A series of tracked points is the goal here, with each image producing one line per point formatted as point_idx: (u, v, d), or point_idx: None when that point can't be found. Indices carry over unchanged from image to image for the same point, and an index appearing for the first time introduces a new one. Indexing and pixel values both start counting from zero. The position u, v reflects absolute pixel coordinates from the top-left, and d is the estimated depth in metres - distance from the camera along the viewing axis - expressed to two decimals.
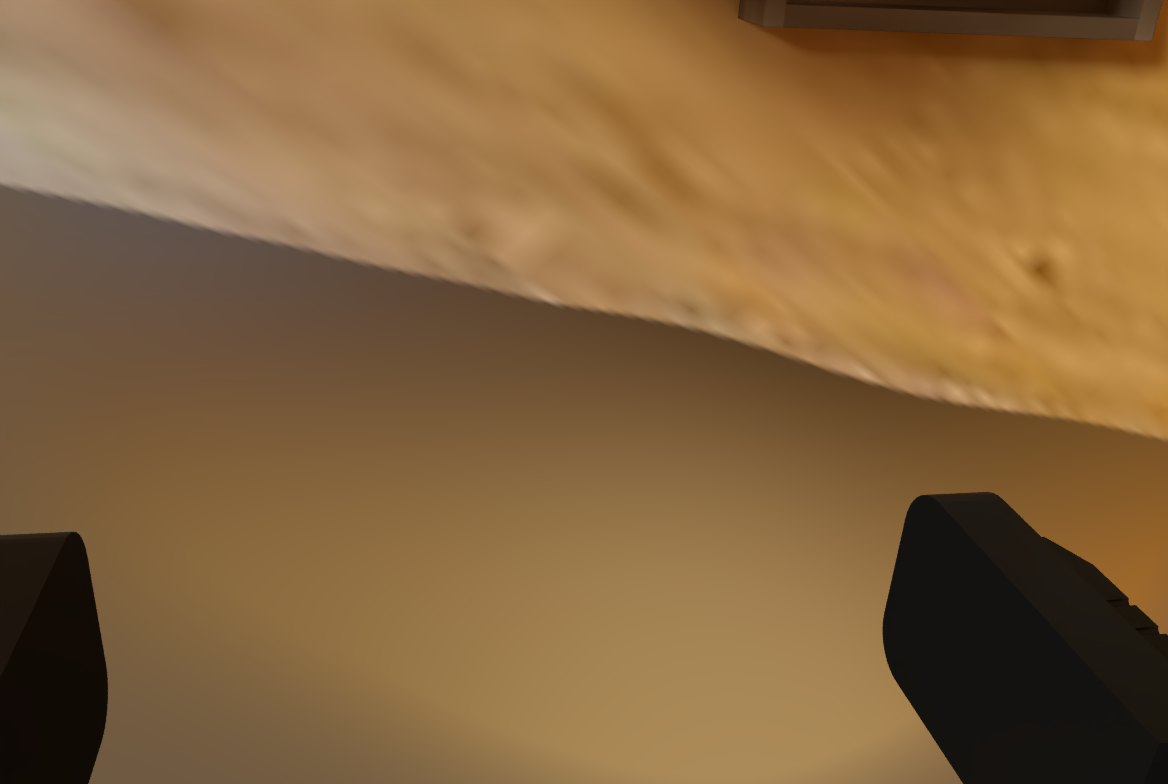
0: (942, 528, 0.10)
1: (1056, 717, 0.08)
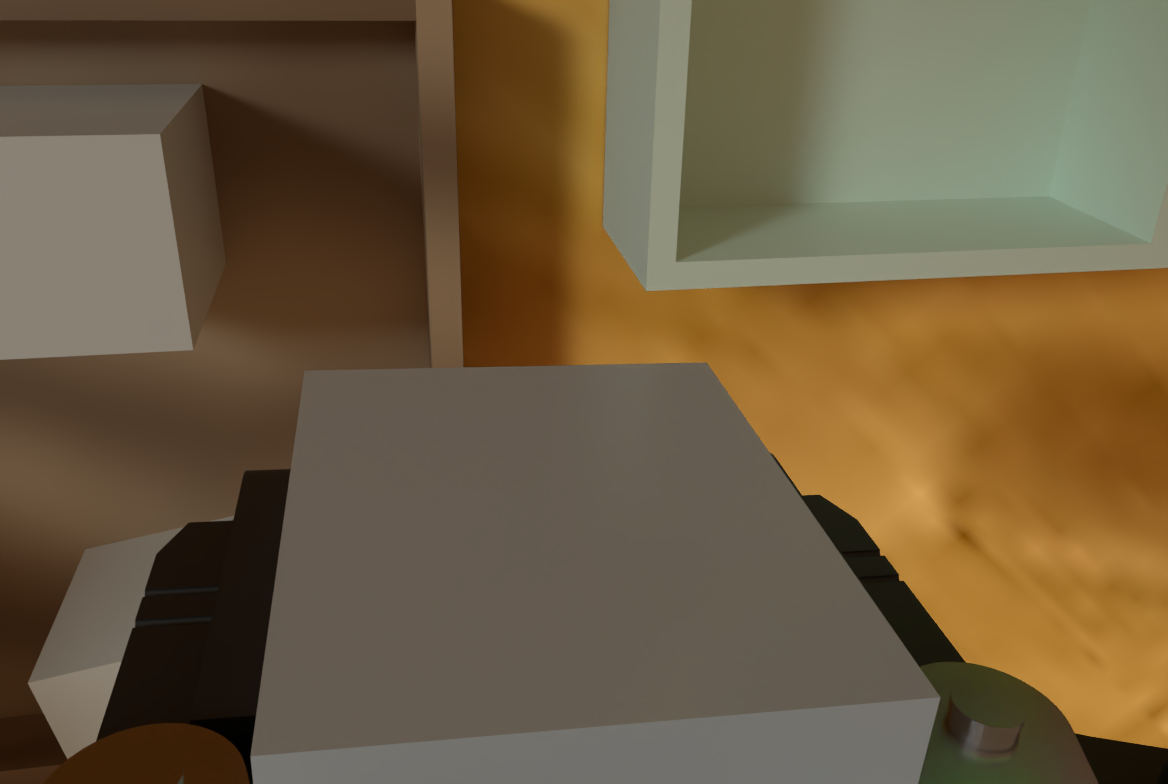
0: None
1: None
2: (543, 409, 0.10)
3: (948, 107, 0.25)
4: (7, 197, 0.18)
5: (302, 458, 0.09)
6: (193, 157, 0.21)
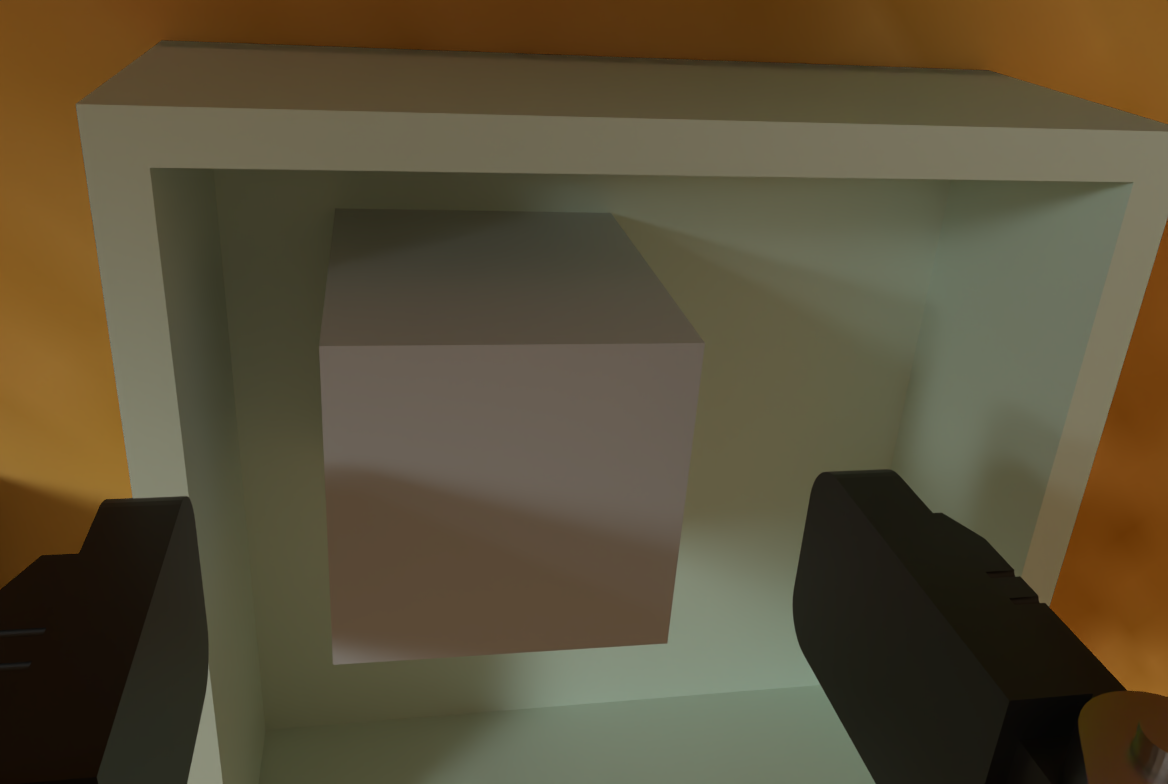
0: (840, 502, 0.10)
1: (930, 681, 0.09)
2: (494, 230, 0.14)
3: (700, 597, 0.19)
4: None
5: (337, 246, 0.13)
6: None
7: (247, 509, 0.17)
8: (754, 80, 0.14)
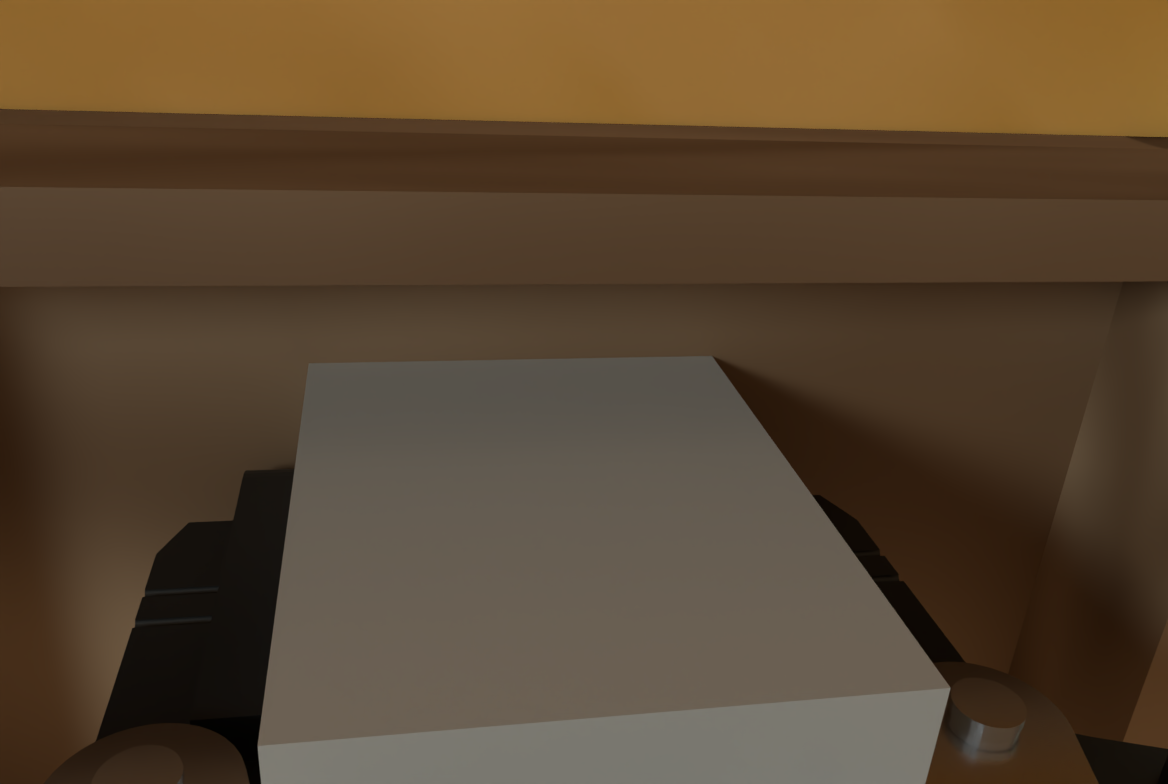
0: None
1: None
2: None
3: None
4: None
5: None
6: None
7: None
8: None
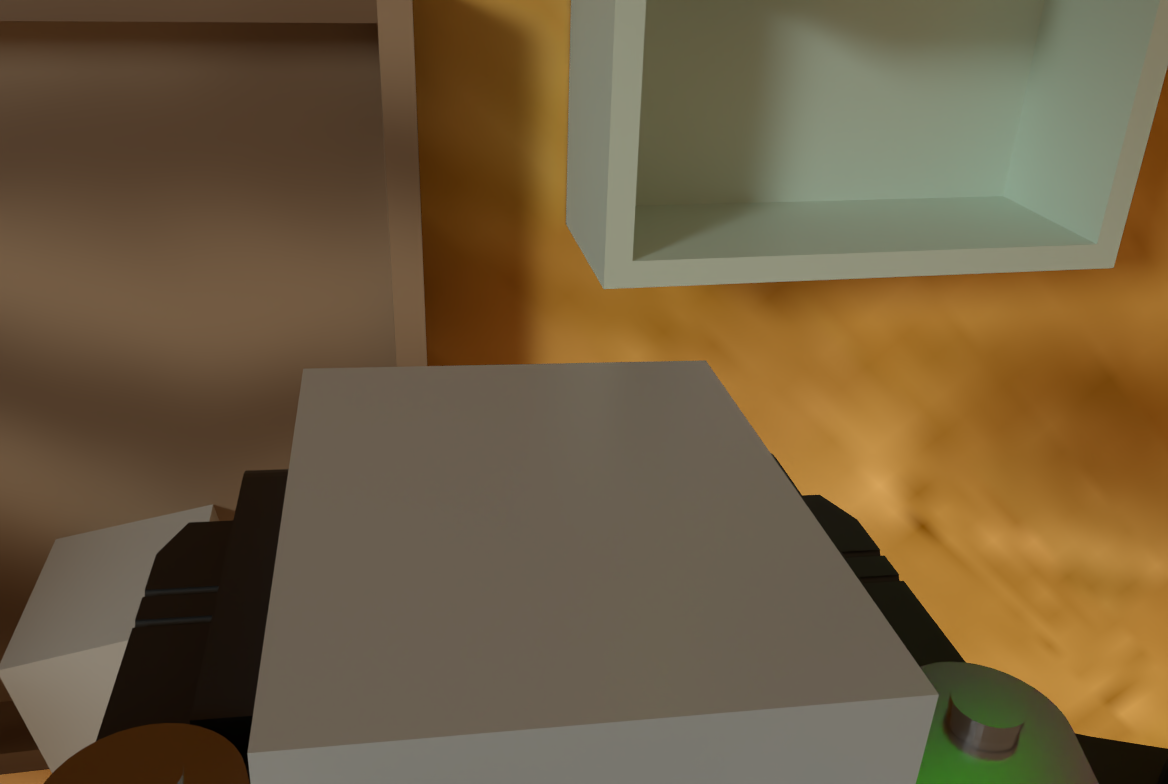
0: None
1: None
2: None
3: (904, 109, 0.26)
4: None
5: None
6: None
7: None
8: None
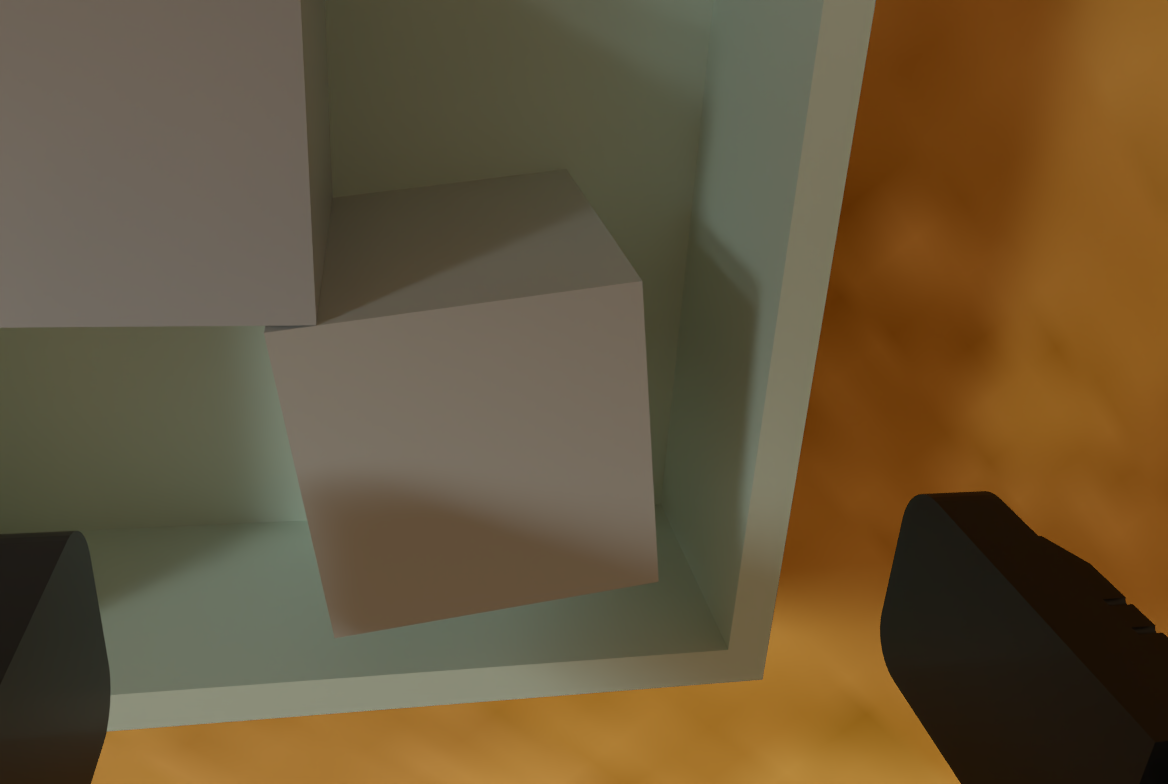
0: (940, 526, 0.10)
1: (1053, 716, 0.08)
2: None
3: None
4: (413, 402, 0.11)
5: None
6: None
7: None
8: None
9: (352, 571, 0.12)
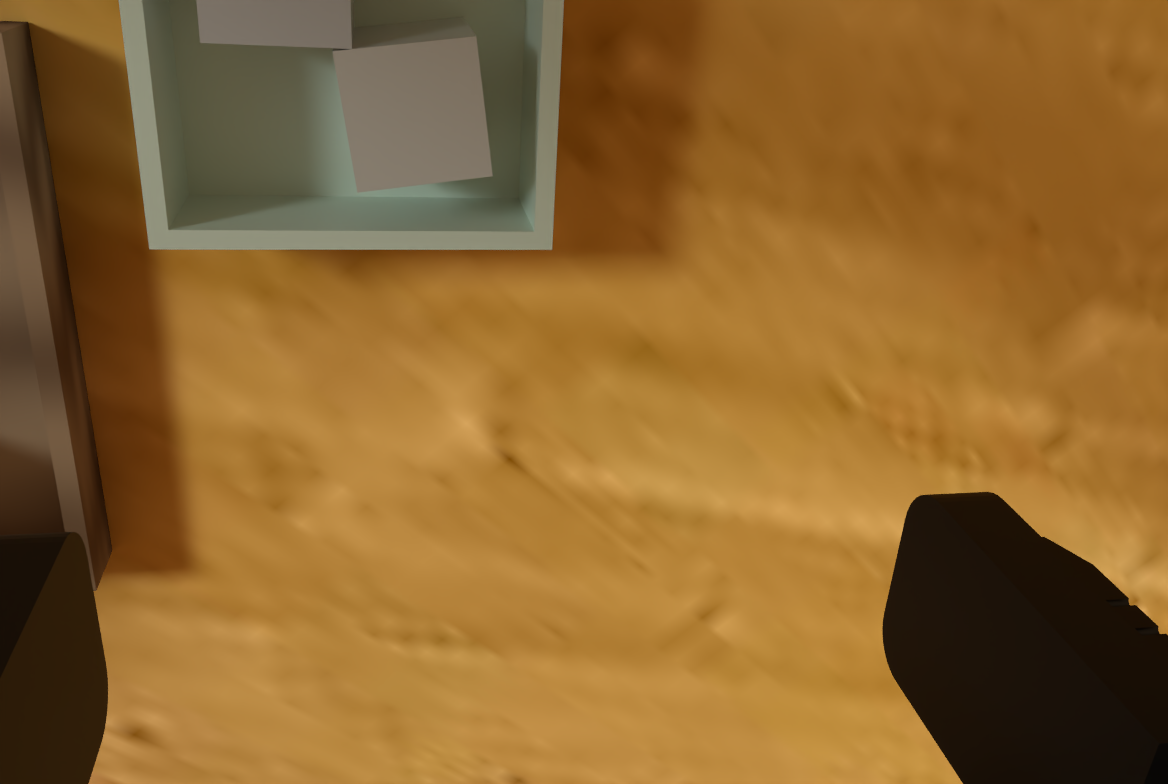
0: (943, 527, 0.10)
1: (1056, 717, 0.08)
2: None
3: None
4: (388, 83, 0.30)
5: None
6: None
7: (175, 51, 0.33)
8: None
9: (365, 160, 0.30)
